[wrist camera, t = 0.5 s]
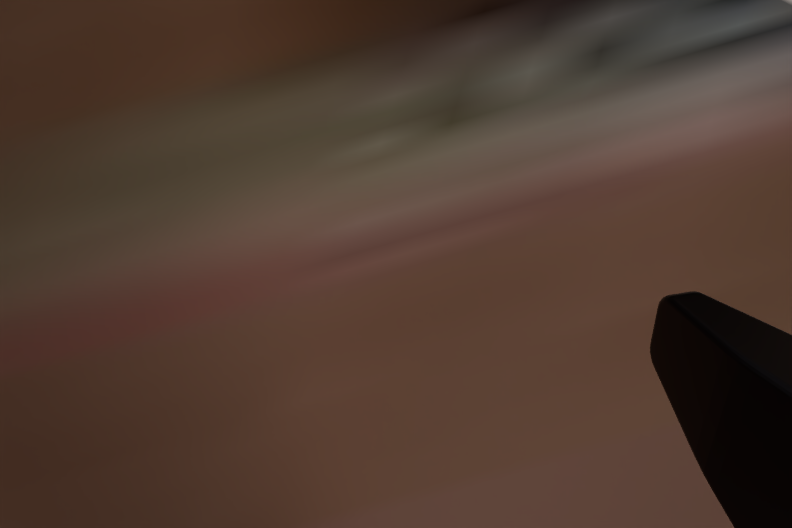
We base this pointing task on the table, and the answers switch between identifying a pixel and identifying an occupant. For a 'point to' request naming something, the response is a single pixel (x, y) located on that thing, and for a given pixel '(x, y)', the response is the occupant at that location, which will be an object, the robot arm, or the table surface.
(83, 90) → the table surface
